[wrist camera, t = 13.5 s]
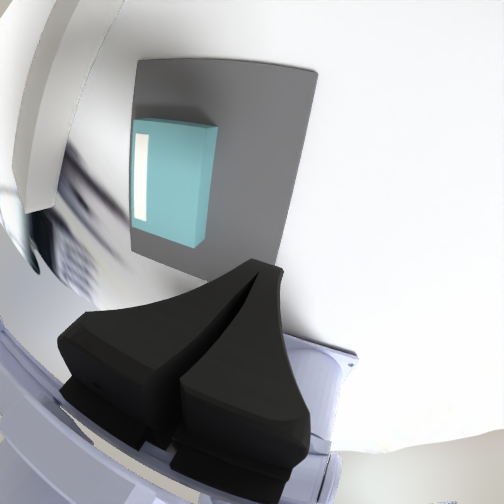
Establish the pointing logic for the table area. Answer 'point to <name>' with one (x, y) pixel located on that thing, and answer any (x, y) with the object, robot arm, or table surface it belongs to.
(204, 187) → the card box
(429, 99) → the table surface
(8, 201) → the table surface
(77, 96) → the bevelled gray strip
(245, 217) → the mat
